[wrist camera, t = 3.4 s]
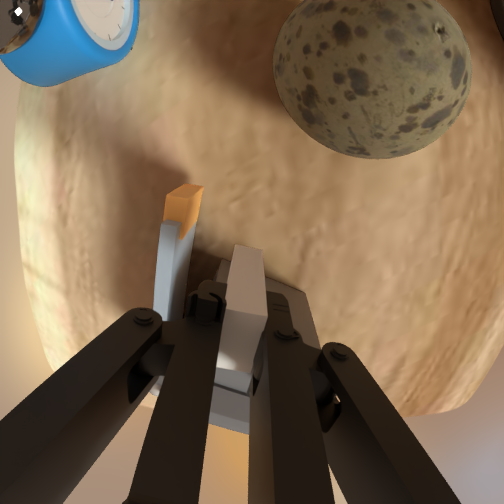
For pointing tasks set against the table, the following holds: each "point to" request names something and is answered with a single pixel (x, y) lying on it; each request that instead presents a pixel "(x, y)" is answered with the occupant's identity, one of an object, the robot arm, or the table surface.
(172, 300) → the side door
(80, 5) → the alarm clock
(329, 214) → the table surface
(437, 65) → the decorative egg
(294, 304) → the camera body
